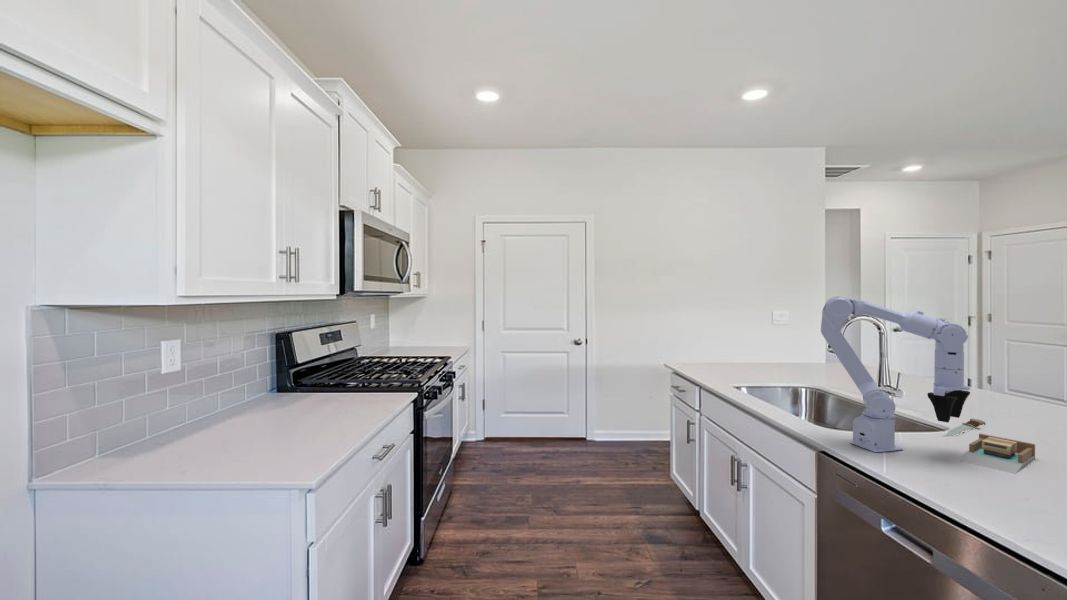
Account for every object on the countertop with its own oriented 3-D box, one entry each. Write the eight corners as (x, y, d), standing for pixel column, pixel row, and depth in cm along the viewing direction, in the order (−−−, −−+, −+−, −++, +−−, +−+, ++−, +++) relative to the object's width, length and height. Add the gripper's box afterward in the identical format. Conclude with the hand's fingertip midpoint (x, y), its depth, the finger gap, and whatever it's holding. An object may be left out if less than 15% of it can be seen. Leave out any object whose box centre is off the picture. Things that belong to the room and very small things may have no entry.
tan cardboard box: (1009, 460, 113) (1009, 446, 113) (981, 453, 117) (981, 441, 117) (1016, 455, 116) (1016, 442, 116) (989, 449, 121) (989, 436, 121)
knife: (957, 438, 131) (936, 432, 135) (956, 443, 131) (935, 436, 135) (992, 422, 144) (971, 417, 148) (991, 427, 144) (971, 421, 148)
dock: (1015, 477, 107) (1015, 458, 107) (957, 463, 116) (957, 445, 116) (1035, 461, 116) (1035, 444, 116) (980, 449, 125) (980, 433, 125)
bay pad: (1015, 462, 112) (1015, 462, 112) (974, 453, 118) (974, 453, 118) (1023, 456, 115) (1023, 456, 115) (982, 448, 122) (982, 447, 122)
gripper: (959, 373, 111) (959, 427, 111) (978, 367, 118) (978, 418, 118) (923, 369, 117) (923, 420, 117) (944, 364, 124) (943, 412, 125)
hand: (948, 419), depth 118 cm, fingers open, 7 cm apart
